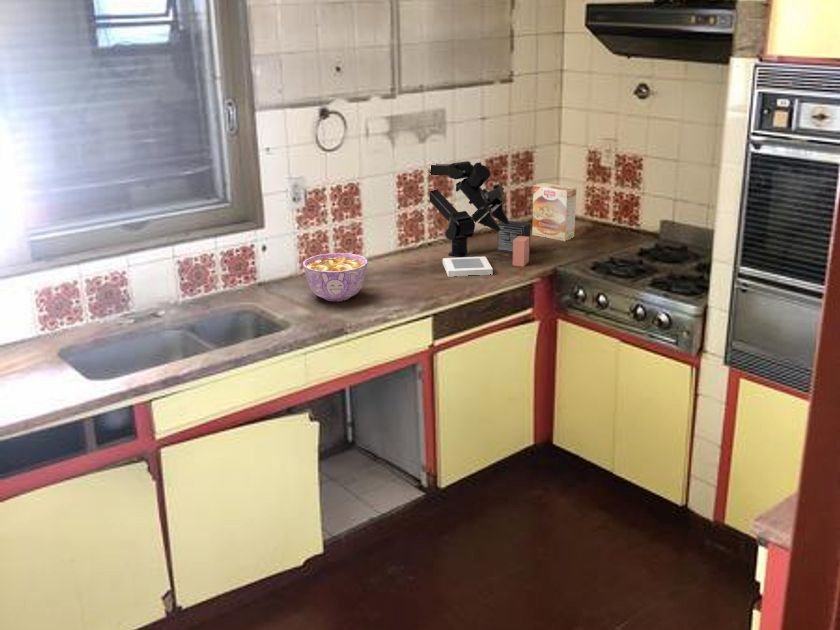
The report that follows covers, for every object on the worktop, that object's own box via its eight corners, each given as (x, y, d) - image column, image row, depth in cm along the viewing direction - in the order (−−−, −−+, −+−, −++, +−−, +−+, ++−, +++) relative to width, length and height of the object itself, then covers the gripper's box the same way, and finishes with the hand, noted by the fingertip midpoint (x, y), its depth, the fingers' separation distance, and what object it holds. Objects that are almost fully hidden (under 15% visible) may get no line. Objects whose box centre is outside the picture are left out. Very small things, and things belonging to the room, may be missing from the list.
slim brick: (517, 260, 325) (518, 235, 321) (528, 261, 323) (529, 236, 320) (512, 265, 319) (513, 240, 316) (523, 266, 318) (524, 241, 315)
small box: (530, 250, 336) (531, 222, 332) (522, 255, 331) (523, 226, 327) (505, 246, 341) (505, 219, 337) (496, 251, 336) (497, 223, 332)
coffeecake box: (531, 235, 356) (532, 185, 349) (541, 231, 361) (543, 182, 354) (564, 241, 346) (567, 190, 340) (574, 237, 352) (577, 187, 345)
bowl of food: (335, 312, 277) (333, 275, 273) (291, 298, 289) (289, 263, 285) (381, 296, 291) (380, 260, 286) (338, 283, 303) (337, 249, 299)
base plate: (442, 263, 322) (442, 257, 321) (485, 261, 323) (485, 255, 323) (448, 276, 308) (448, 270, 307) (492, 274, 309) (492, 268, 309)
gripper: (480, 183, 307) (511, 219, 307) (499, 173, 323) (528, 206, 323) (458, 204, 313) (488, 239, 313) (478, 193, 329) (506, 226, 329)
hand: (504, 227), depth 319 cm, fingers open, 9 cm apart
